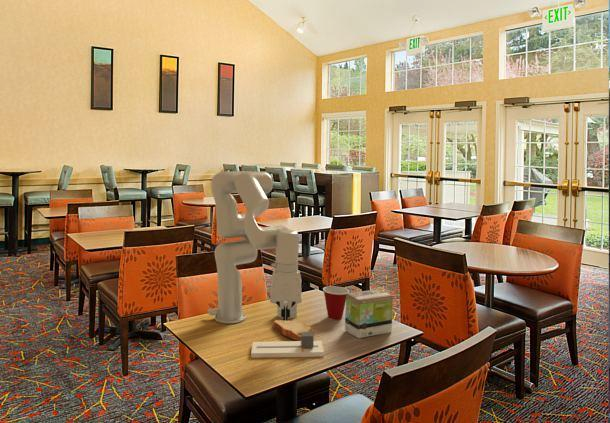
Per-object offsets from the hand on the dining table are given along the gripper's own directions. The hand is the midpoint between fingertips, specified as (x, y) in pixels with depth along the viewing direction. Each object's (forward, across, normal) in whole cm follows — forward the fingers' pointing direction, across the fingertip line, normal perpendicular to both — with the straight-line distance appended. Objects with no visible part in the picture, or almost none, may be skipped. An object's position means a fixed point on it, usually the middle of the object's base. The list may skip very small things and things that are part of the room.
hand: (285, 319), depth 170 cm
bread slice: (+12, +3, +17) cm, 21 cm away
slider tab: (+9, +8, -1) cm, 12 cm away
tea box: (+11, +32, +16) cm, 37 cm away
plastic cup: (+12, +21, +33) cm, 41 cm away
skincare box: (+13, +1, +34) cm, 37 cm away
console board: (+11, +1, -1) cm, 11 cm away
